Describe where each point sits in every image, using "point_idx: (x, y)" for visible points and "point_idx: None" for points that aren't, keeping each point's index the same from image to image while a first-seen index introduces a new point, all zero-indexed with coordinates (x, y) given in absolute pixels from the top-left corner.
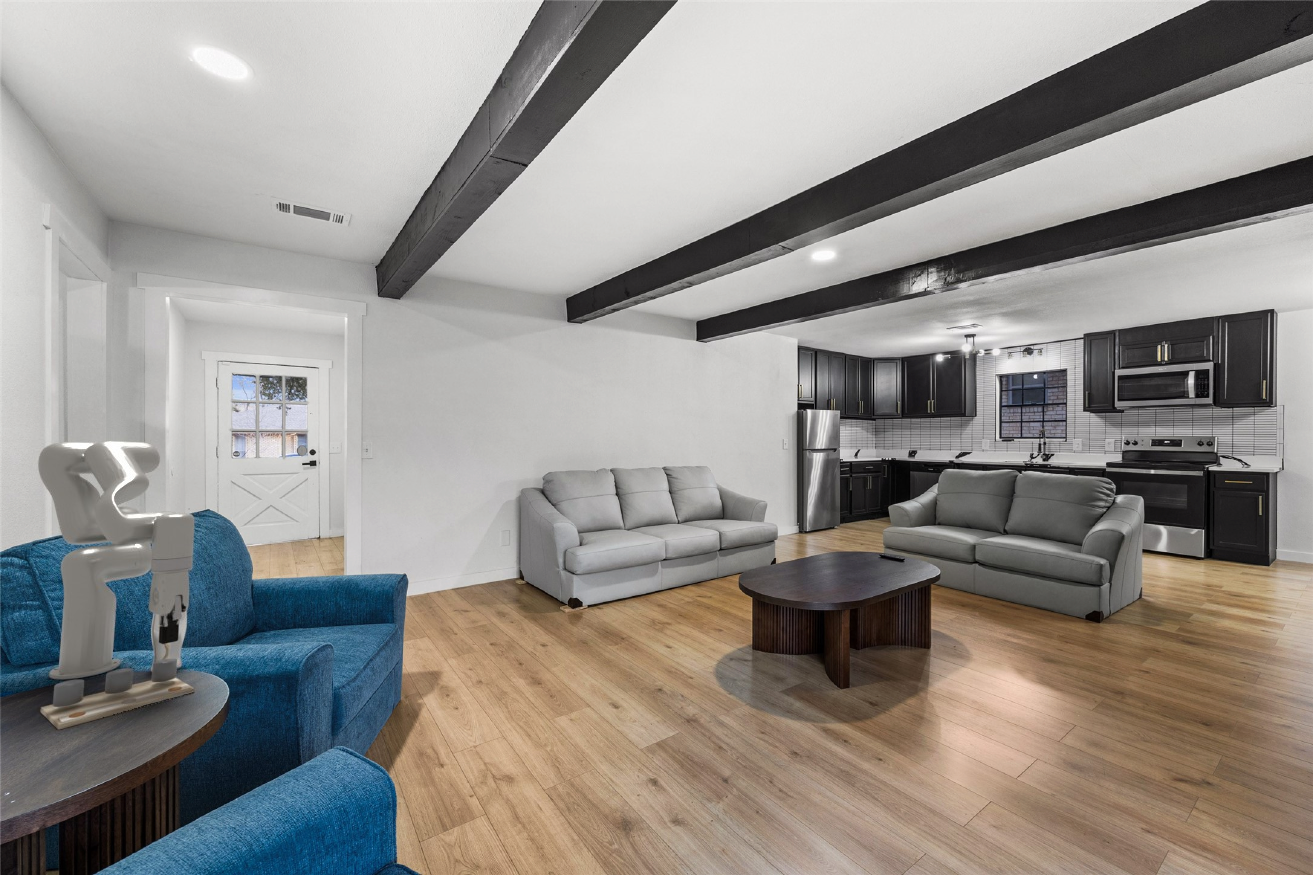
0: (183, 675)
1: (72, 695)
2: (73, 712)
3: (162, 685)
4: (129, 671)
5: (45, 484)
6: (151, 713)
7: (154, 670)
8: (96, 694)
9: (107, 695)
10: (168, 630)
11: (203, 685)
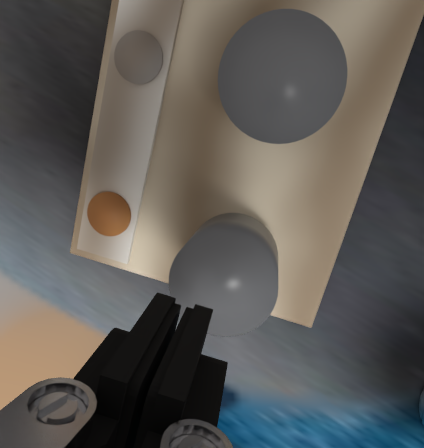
0: (307, 362)
1: None
2: None
3: None
4: (234, 107)
5: None
6: (11, 63)
7: (223, 225)
8: (393, 60)
9: None
10: (75, 379)
11: (121, 307)
